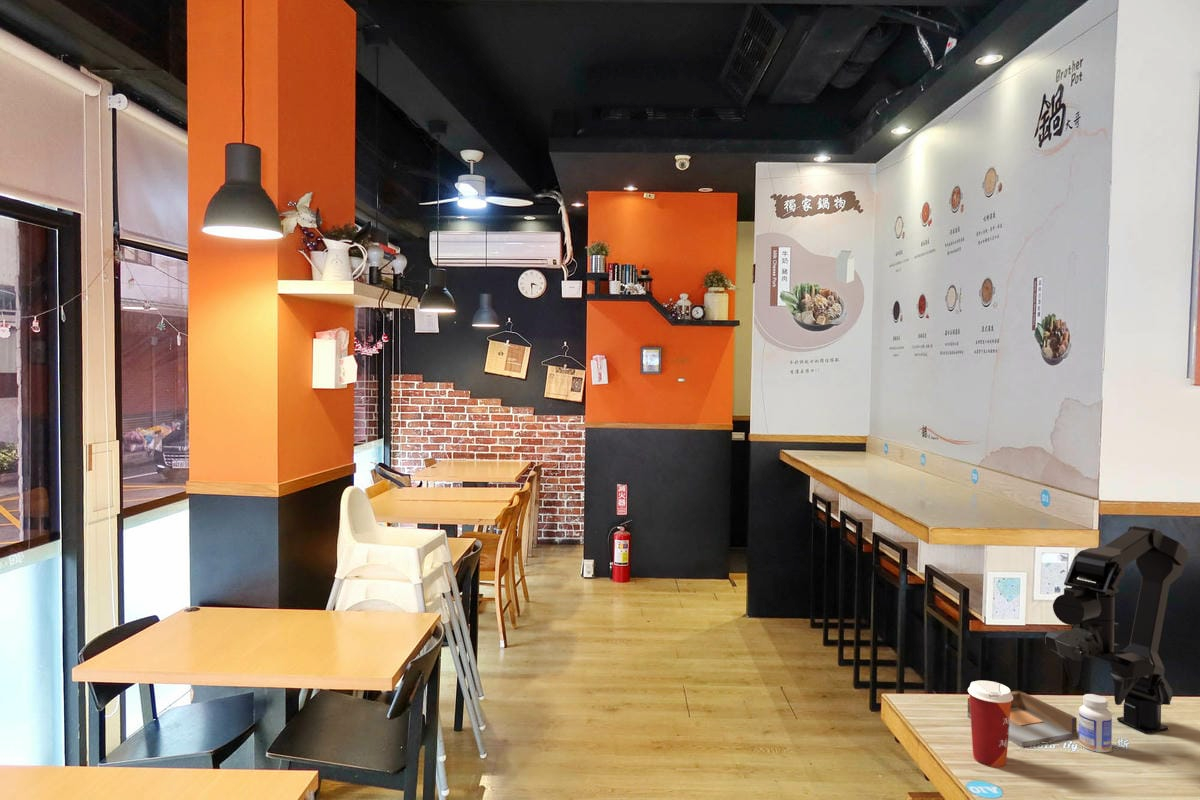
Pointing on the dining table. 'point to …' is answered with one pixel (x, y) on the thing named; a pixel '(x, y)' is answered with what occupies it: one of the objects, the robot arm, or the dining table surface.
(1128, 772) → the dining table surface
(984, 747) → the paper cup
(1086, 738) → the pill bottle
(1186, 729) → the dining table surface
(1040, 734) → the corner arena
